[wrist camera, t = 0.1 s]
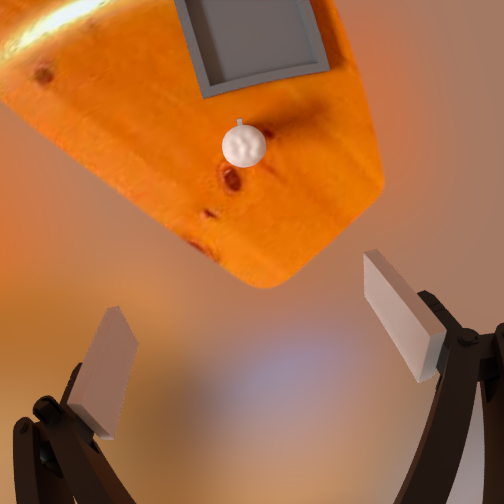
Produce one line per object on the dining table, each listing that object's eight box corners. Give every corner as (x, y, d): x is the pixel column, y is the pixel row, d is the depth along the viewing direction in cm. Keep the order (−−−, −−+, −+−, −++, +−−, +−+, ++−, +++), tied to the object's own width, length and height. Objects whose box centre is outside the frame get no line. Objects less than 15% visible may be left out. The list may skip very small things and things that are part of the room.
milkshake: (253, 112, 37) (262, 114, 28) (260, 152, 39) (272, 166, 30) (218, 119, 37) (216, 123, 28) (226, 158, 39) (227, 175, 30)
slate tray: (173, -5, 28) (170, -11, 26) (292, -29, 27) (296, -35, 25) (204, 99, 35) (203, 98, 33) (324, 72, 35) (330, 70, 32)
